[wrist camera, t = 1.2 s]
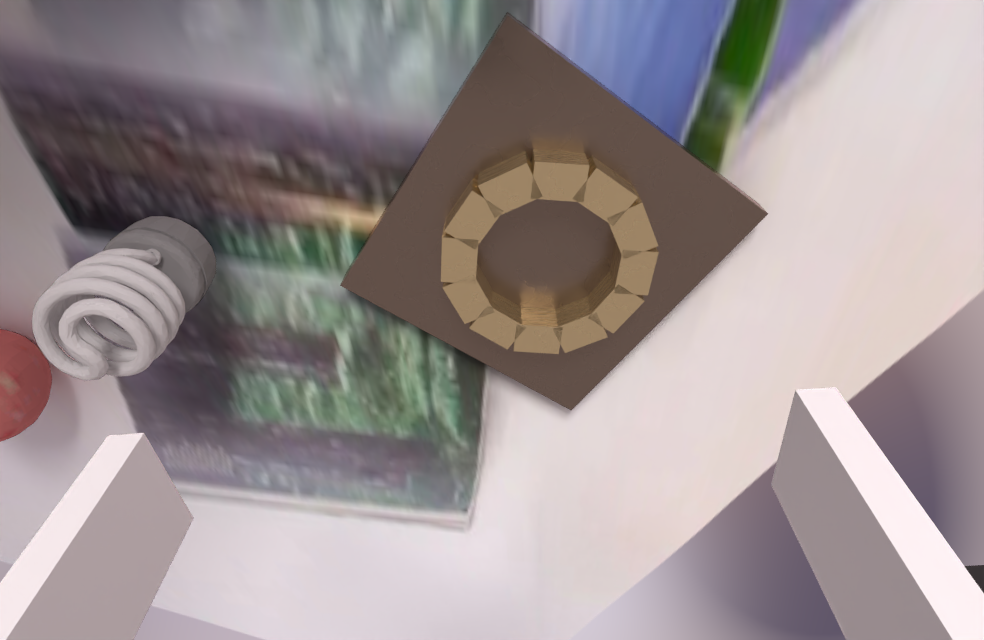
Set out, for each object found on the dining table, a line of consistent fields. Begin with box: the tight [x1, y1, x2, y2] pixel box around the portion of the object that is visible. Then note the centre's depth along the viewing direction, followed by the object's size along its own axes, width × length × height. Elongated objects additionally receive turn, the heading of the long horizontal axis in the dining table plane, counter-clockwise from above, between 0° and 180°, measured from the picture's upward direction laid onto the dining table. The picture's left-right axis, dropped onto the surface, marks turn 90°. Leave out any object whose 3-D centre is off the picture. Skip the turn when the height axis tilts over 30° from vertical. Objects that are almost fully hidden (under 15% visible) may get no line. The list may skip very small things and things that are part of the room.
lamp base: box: [340, 12, 768, 410], centre depth 35 cm, size 18×18×4 cm
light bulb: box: [32, 216, 216, 380], centre depth 32 cm, size 6×6×12 cm
